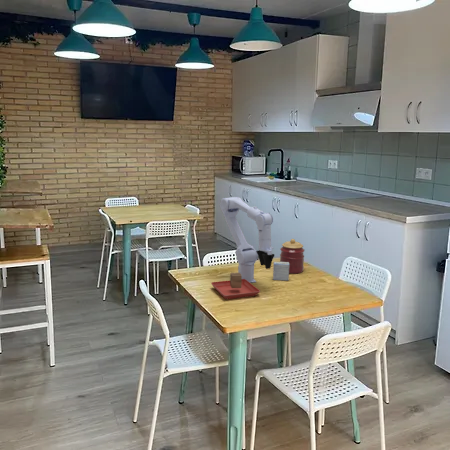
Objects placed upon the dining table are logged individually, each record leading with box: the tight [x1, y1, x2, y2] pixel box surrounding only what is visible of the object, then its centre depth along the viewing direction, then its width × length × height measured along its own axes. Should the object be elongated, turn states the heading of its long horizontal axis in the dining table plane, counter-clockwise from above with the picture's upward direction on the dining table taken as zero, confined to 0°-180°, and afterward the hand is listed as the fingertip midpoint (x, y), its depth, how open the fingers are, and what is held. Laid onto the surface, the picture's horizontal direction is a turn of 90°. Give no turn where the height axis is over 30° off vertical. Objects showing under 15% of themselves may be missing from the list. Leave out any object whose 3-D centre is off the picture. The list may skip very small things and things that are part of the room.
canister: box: [279, 238, 305, 274], centre depth 244 cm, size 13×13×18 cm
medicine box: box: [272, 261, 290, 281], centre depth 230 cm, size 8×4×9 cm, turn 84°
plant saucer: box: [210, 279, 261, 300], centre depth 211 cm, size 18×18×3 cm
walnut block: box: [229, 272, 242, 288], centre depth 210 cm, size 4×4×6 cm
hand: (265, 266), depth 216 cm, fingers open, 7 cm apart
